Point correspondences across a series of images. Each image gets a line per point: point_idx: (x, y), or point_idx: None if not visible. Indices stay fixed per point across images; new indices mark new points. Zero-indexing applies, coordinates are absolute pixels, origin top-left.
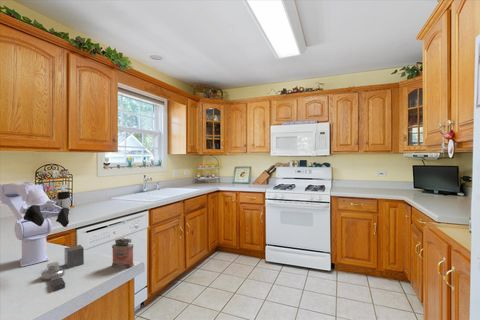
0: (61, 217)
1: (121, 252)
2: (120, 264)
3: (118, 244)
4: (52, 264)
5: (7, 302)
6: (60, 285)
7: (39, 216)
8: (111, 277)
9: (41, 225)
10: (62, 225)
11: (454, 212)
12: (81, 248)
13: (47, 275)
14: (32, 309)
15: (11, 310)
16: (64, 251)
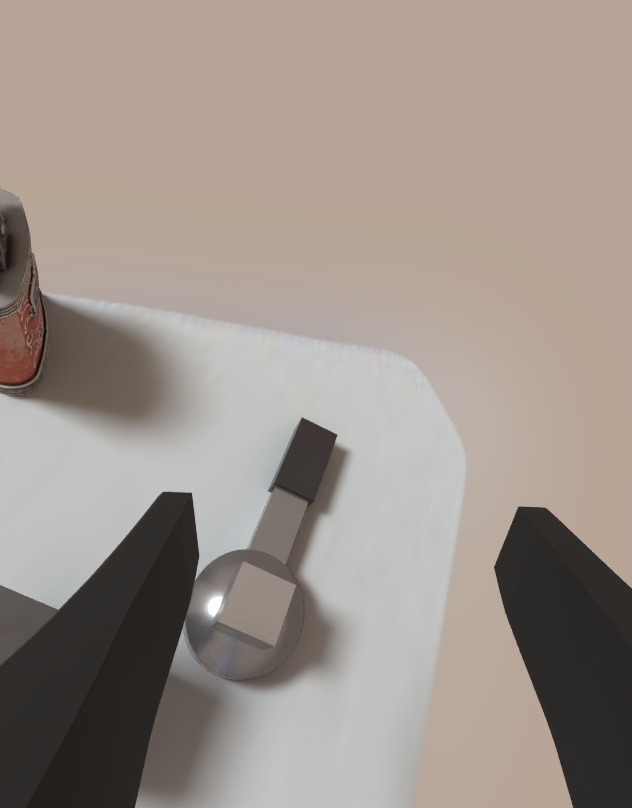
0: (111, 766)
1: (34, 265)
2: (44, 325)
3: (4, 254)
4: (264, 597)
5: (448, 536)
6: (315, 426)
7: (617, 578)
8: (159, 315)
9: (498, 561)
10: (185, 615)
11: None
12: (15, 592)
13: (292, 582)
14: (416, 405)
15: (452, 462)
16: None
